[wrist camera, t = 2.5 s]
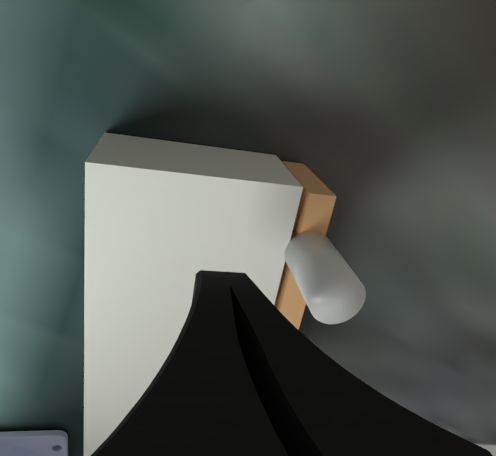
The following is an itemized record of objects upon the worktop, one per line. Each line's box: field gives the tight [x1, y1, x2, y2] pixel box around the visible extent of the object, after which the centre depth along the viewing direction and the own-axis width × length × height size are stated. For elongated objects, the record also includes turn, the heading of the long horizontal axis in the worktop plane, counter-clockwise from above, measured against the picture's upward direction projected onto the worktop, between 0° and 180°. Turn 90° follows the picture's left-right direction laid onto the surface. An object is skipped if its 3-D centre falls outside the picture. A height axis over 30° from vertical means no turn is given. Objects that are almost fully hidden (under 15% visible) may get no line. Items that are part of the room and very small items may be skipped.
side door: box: [274, 161, 366, 330], centre depth 17 cm, size 14×2×7 cm, turn 170°
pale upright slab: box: [84, 133, 303, 456], centre depth 18 cm, size 15×7×4 cm, turn 170°
